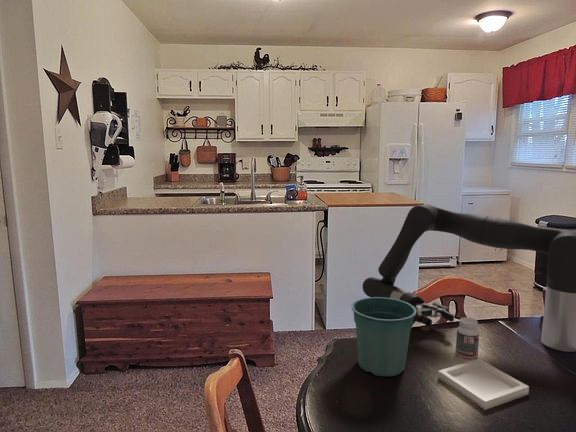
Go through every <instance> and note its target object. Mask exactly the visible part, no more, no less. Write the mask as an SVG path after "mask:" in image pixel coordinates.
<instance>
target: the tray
mask: <svg viewBox="0 0 576 432" xmlns="http://www.w3.org/2000/svg"><path fill="white" fill-rule="evenodd" d="M437 371H438V372H437V378H438V379H439V380H440V381H441V382H443V383H444V384H446V385H448V386H449V387H450V388H452V389H453V390H455V391H457V392H458V394H461V395H462V396H464V397H465V398H466V399H468V401H469V400H470V401H471V402H472V403H473V404H476V406H478V407H480V408H481V409H483V410H484V411H487V410H488V409H491V408H492V409H493V408H494V407H497V406H500V405H502V404H505V403H509V402H511V401H514V400H517V399H520V398H523V397H526V396H528V395H529V391H530V386H529V385H528V384H526V383H524V382H521V381H520V380H518V379H516V378H514V377H512V376H511V375H509V374H508V373H506V372H504V371H502V370H501V369H499V368H497V367H495V366H493V365H492V364H489V363H487V362H486V361H484V360H482V359H481V358H478V359H474V360H470V361H468V362H467V361H466V362H464V363H460V364H457V365H453V366H450V367H447V368H443V369H439V370H437Z"/></svg>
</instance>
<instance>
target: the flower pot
mask: <svg viewBox="0 0 576 432" xmlns="http://www.w3.org/2000/svg"><path fill="white" fill-rule="evenodd" d="M350 306H351V310H352V311H353V319H354V320H353V321H354V323H355V332H356V334H355V335H356V346H357V347H356V349H357V363H358V366H359V367H360V368H361V370H363V371H365V372H366V373H368V372H370V373H372V375H374V376H378V377H394V376H398V375H400V374H401V373H402V372H403V371H405V369H406V364H407V363H406V362H407V356H408V348H409V342H410V336H411V330H412V327H413V324H414V323H413V319H414V316H415V315H416V309H415V307H414V306H412V305H411V304H409V303H407V302H404V301H401V300H398V299H393V298H384V297H369V296H368V297H363V298H360V299H357V300H355V301H353V302H352V304H351V305H350Z"/></svg>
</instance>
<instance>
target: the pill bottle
mask: <svg viewBox="0 0 576 432" xmlns="http://www.w3.org/2000/svg"><path fill="white" fill-rule="evenodd" d="M458 324H459V325H458V326H457V329H456V337H455V338H456V340H455V353H456V354H457V356H459V357H461V358H464V359H468V360H469V359H470V360H471V359H476V358H477V357H478V355H479V344H480V342H479V341H480V331H479V329H478V327H479V322H478V320H477V319H476V318H472V317H467V316H465V317H460V319H459V323H458Z"/></svg>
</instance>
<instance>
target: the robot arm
mask: <svg viewBox="0 0 576 432" xmlns="http://www.w3.org/2000/svg"><path fill="white" fill-rule="evenodd" d="M400 229H401V230H399V234H398V235H397V237H396V239H395V241H394V242H393V244H392V246H391V248H390V250H389V251H388V252H387V254H386V255H385V257H384V258H383V260H382V261H381V263H380V264H379V266H378V268H377V269H378V270H377V272H378V273H379V275H380V276H381V277H382V278H377V277H373V276H371V277H367V278H365V280H364V281H363V282H362V285H361V286H362V291H363V294H365V295H366V296H367V297H368V298H369V297H384V298H393V299H398V300H401V301H404V302H407V303H409V304H411V305H412V306H414V307H415V309H416V315H415V316H414V319H413V324H415V323H416V322H417V323H419V324H423V325H425V326H427V327H428V328H429V327H432V326H433V320H432V319H431V318H435V319H436V318H443V319H445V320H446V321H449V322H454V320H455V315H454V314H453V313H451V312H450V311H449V307H448V306H445V305H443V304H440V303H438V302H436V301H434V302H432V304H429V303H425V301H424V299H423V298H422V297H421V296H419V295H417V294H416V293H415V294H414V293H413V292H410V291H408V290H406V289H403V288H400V287H398V286H396V285H395V282H396V279H397V277H398V275H399V274H400V272H401V270H402V269H403V268H404V267H405V265H406V263H407V261H408V259H409V256H410V254H411V251H412V248H413V247H414V246H415V245H416V242H417V241H418V240H419V239H420V238H421V236H423V234H424V233H426V232H429V231H431V232H432V231H433V232H441V233H448V234H452V235H455V236H458V237H460V238H462V239H465V240H467V241H469V242H471V243H473V244H474V243H475V244H478V245H482V246H486V247H489V248H496V249H504V250H523V251H525V250H526V251H534V252H537V253H542V254H546V255H547V267H546V268H547V269H546V290H545V299H544V310H543V317H542V318H543V319H542V328H541V329H542V330H541V339H540V340H541V341H540V342H541V343H542V344H543V345H544V346H547V348H551V349H553V350H557V351H559V352H560V351H561V352H566V353H567V352H568V353H570V352H571V353H572V352H576V230H566V229H558V228H557V229H555V228H554V229H553V228H546V227H538V226H534V225H533V226H532V225H529V224H525V223H522V222H518V221H513V220H509V219H505V218H501V217H495V216H490V215H483V214H476V213H465V212H464V213H463V212H456V211H453V210H452V211H451V210H448V209H444V208H441V207H438V206H435V205H431V204H425V203H424V204H418V205H414V206H413V207H412V208H410V210H409V211H408V213H407V214H406V217H405V220H404V222H403V224H402V227H401V228H400ZM433 311H434V313H433ZM429 317H431V318H429Z"/></svg>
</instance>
